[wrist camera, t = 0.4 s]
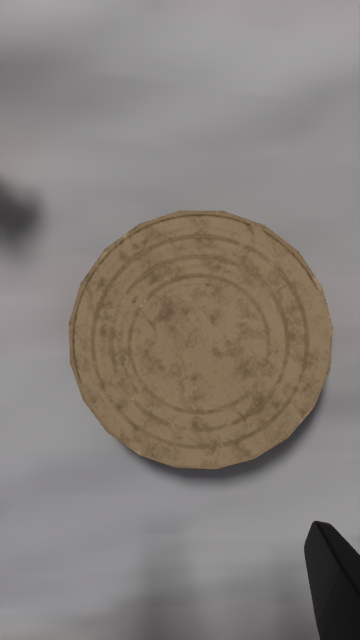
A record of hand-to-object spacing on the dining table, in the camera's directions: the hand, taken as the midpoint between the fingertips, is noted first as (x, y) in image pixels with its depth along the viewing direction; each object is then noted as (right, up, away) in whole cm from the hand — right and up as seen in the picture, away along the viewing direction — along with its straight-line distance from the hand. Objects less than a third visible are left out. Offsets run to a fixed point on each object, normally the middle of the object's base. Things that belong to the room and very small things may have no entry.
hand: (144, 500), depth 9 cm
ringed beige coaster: (+2, +4, +14) cm, 15 cm away
